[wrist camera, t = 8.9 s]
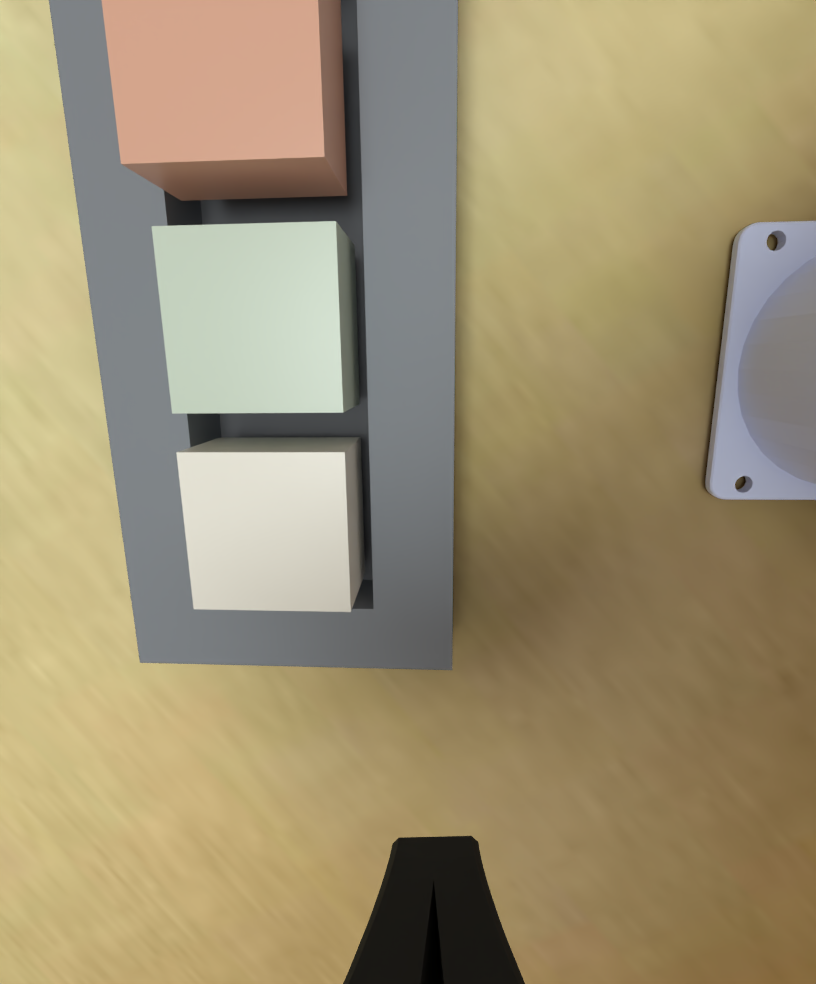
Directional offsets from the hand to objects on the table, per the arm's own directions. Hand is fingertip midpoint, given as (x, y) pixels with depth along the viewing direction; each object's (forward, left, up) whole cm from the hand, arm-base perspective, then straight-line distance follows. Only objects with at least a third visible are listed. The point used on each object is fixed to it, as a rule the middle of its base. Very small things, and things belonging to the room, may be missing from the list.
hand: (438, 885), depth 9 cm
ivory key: (+5, -4, -9) cm, 11 cm away
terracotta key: (+5, -15, -8) cm, 18 cm away
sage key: (+5, -10, -9) cm, 14 cm away
